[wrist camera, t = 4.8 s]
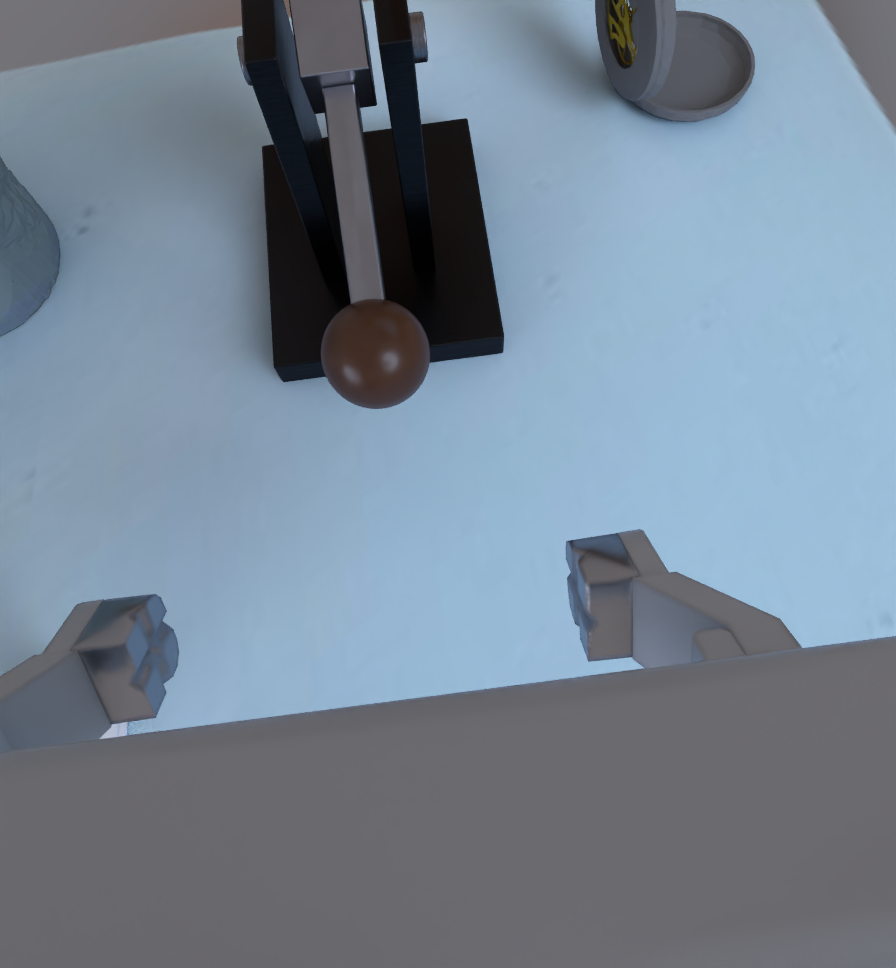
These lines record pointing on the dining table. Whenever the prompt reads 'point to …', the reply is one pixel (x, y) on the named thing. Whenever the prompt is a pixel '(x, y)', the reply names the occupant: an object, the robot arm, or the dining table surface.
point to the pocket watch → (673, 58)
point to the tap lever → (355, 213)
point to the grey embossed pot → (23, 253)
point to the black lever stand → (395, 193)
